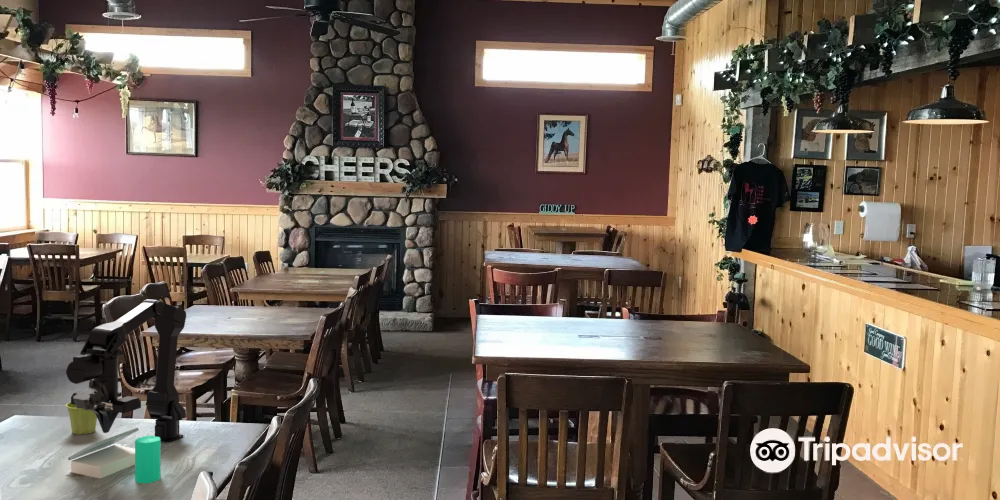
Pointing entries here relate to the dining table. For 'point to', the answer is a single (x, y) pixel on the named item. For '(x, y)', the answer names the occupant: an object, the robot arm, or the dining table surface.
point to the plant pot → (81, 419)
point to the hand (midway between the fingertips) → (105, 432)
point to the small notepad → (104, 461)
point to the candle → (147, 459)
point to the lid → (103, 443)
